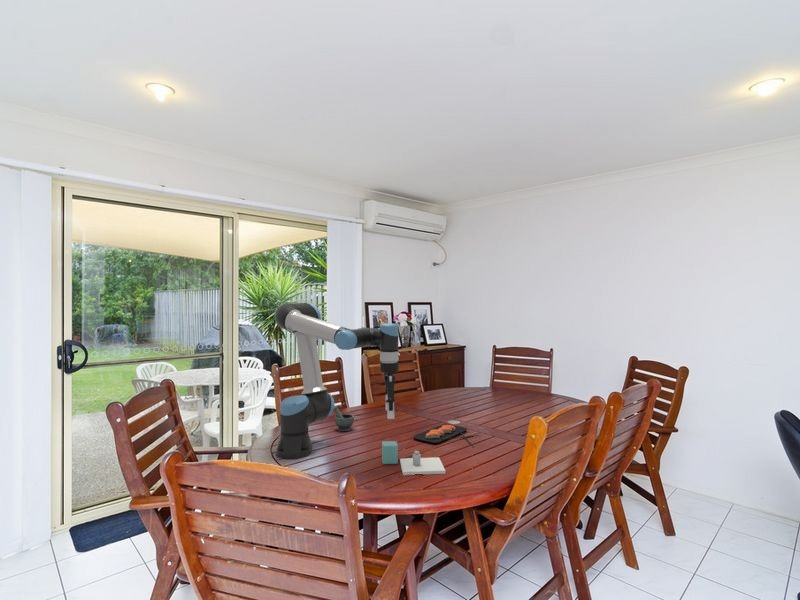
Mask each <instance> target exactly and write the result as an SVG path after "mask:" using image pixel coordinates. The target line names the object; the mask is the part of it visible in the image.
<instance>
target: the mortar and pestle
mask: <svg viewBox="0 0 800 600" xmlns="http://www.w3.org/2000/svg"><path fill="white" fill-rule="evenodd" d="M333 413H334V414H335V416H334V422H335V426H337V428H338V430H339V431H338V430H337V431H338V432H340V431H348V432H350V431H351V427H352V426H353V424H354V420H355V416H354V414H350V413H341V411H340V409H339V407H338V405H334V410H333ZM349 430H350V431H349Z"/></svg>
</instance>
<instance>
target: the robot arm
mask: <svg viewBox="0 0 800 600" xmlns="http://www.w3.org/2000/svg"><path fill="white" fill-rule="evenodd" d="M321 318H322V315H321V312H320V310H319V308H318V306H316V305H315V304H314V303H308V302H293V303H291V302H289V303H288V302H287V303H283V304H281V305H279V306H278V307H277V308H276V309H275V312H274V320H275V321H274V322H275V323H276V325H277V326H278V327H279V328H280V329H282V330H286V331H288V332H291V333H292V335H293V336H294V337H295V338H296V344H297V350H298V357H299V359H298V360H299V364H300V370H301V377H302V384H303V390H302V391H301V394H300V395H299V394H298V395H292V396H288V397H285V398H284V399H283V400H282V401H281V403H280V409H279V413H280V414H279V415H280V416H279V417H280V421H279V422H280V423H279V424H280V435H279V439H278V442H277V445H276V451H275V452H276V456H277V457H278V458H282V459H286V460H289V459H294V460H295V459H301V458H305V457H307V456H310V455H312V453H313V451H314V450H313V443H312V440H311V438H310V435H309V425H311V424H313V423H314V424H315V423H316V422H319V421H323V420H325V419H328V418H329V417H330V416H331V415H332V414H333V413H334V406H335V400H334V397H333V396H332V394H331V393H330V392H328V388H327V387H326V386H324V384H323V383H324V382H323V377H322V372H321V371H322V370H321V364H320V357H319V351H318V345H317V339H320V340H322V341H324V342H327V343H331V344H333V345H336V347H337V349H339V350H342V351H344V350H345V351H349V350H353V349H359V348H360V349H361V348H367V347H379V361H380V364H379V367H380V368H379V370H380V372H381V373H385V375H384V384H385V388H384V391H385V392H384V393H385V411H387V413H386V415H387V417H386V419H387V420H395V401H396V400H395V381H396V380H395V379H396V377H395V375H394V373H398V372H399V370H400V367H399V366H400V364H399V356H401V353H399V336H400V333H399V325H398V324H396V323H381V324H380V325H379V328H373V327H359V328H355V329H350V328H347V327H345V326H341V325H338V324H335V323H332V322H329V321H325V320H322V319H321Z"/></svg>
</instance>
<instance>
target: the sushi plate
mask: <svg viewBox="0 0 800 600" xmlns="http://www.w3.org/2000/svg"><path fill="white" fill-rule="evenodd" d="M467 430H468V428H467V427H464V426H460V425H455V424H454V425H453V424H449V423H446V424H445V423H444V424H441V425H438V426H435V427H432V428H430V429H428V430H425V431H421V432H420V433H417V434H415V435H413V437H412V438H413V439H415V440H419V441H421V442H427V443H432V444H438V443H442V442H444V441H446V440H455V439H464V440H466V442H467V443H468V444H469V445H470V446H471V447H472V448H473V449H474V448H475V446H474V445H473V444H472V443H471V441H470V440H469V439H468V438H474V437H473V436H475V437H480V436H479V435H480V434H477V435H466V436H465V435H464V433H465V432H466V431H467ZM460 434H461V435H462V436H459V437H457V436H458V435H460ZM455 436H456V437H455Z"/></svg>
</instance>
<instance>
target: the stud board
mask: <svg viewBox="0 0 800 600" xmlns="http://www.w3.org/2000/svg"><path fill="white" fill-rule="evenodd" d="M399 462H400V463H399V465H400V468H401V473H403V474H402V476H410V475H411V476H416V475H415V474H423V475H445V474H446V469H445V467H444V465H443V462H442V461H441V459H440V457H439V456H437V457H422V456H421V453H420V451H419V450H415V451H414V453H412V457H411V458H410V457H408V458H407V457H406V458H399Z"/></svg>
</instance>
